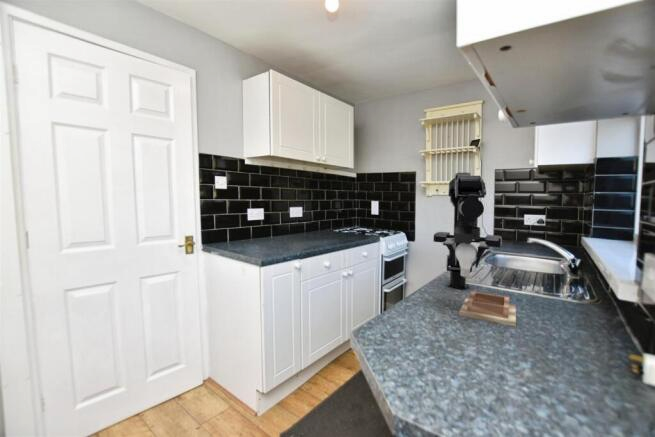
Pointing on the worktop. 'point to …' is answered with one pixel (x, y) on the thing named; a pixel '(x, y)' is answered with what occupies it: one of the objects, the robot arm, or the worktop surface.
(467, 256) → the lightbulb
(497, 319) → the holder
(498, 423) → the worktop surface
